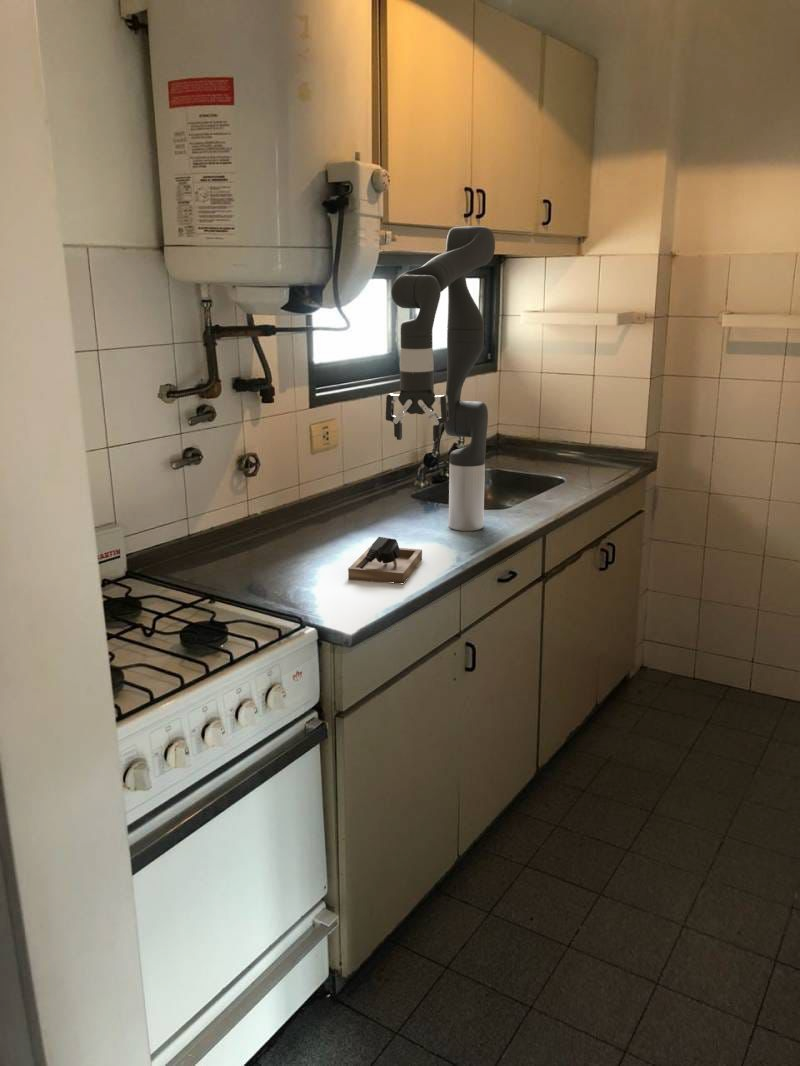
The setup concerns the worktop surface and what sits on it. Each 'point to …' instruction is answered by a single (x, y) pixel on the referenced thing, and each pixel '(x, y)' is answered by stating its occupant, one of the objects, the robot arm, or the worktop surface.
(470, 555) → the worktop surface
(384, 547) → the power plug
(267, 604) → the worktop surface
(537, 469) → the worktop surface
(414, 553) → the brown tray
